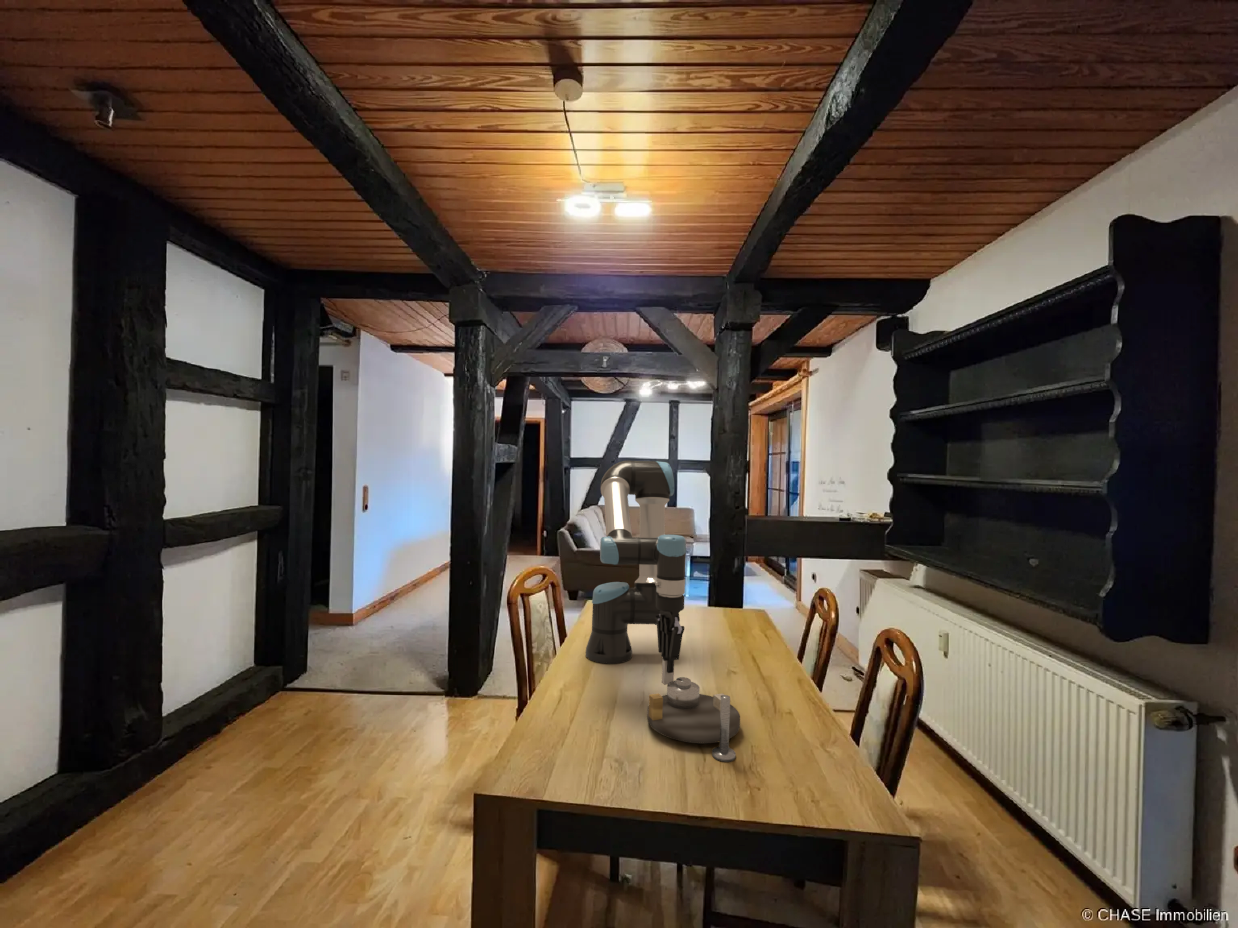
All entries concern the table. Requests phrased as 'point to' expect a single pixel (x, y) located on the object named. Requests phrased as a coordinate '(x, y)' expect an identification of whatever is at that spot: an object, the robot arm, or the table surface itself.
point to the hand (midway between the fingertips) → (667, 682)
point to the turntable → (690, 720)
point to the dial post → (723, 729)
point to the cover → (683, 694)
